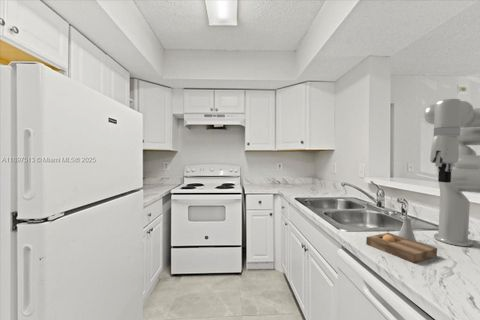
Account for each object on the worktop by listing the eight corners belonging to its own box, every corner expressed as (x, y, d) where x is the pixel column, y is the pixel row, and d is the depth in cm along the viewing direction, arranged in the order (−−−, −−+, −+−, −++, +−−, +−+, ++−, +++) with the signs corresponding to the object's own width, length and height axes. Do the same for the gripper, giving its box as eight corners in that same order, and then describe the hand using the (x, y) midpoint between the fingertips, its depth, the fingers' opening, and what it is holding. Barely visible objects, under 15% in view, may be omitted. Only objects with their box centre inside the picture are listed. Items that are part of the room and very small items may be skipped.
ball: (385, 242, 98) (395, 248, 94) (378, 242, 97) (388, 248, 93) (388, 233, 98) (398, 238, 94) (381, 232, 96) (391, 238, 92)
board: (388, 239, 102) (388, 232, 102) (436, 256, 86) (437, 248, 86) (366, 244, 97) (366, 236, 96) (413, 263, 80) (414, 254, 80)
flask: (397, 236, 106) (398, 214, 106) (417, 240, 102) (418, 217, 101) (395, 241, 101) (396, 218, 100) (416, 245, 96) (417, 221, 96)
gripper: (445, 134, 94) (443, 180, 95) (423, 132, 88) (421, 181, 88) (469, 133, 87) (467, 182, 88) (448, 131, 81) (445, 184, 82)
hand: (444, 181), depth 88 cm, fingers closed
